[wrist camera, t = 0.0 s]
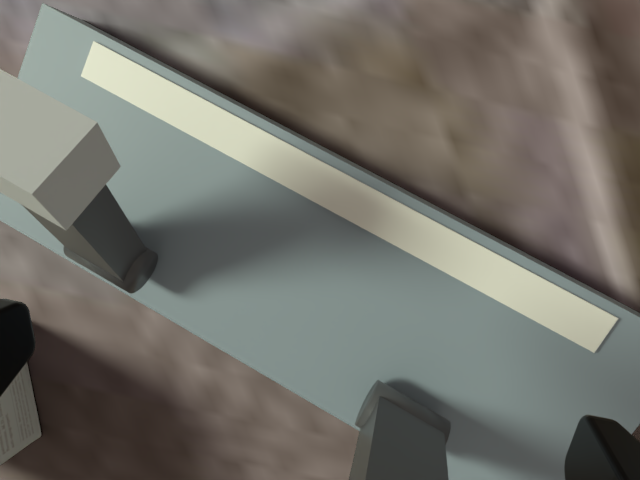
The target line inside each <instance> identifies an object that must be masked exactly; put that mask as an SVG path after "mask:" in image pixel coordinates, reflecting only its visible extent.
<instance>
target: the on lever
mask: <svg viewBox="0 0 640 480" xmlns="http://www.w3.org/2000/svg"><path fill="white" fill-rule="evenodd" d="M120 167H121V166H120V164H119V162H118V160H117V158H116V156H115V155H114V153H113V151H112V149H111V147H110V145H109V143H108V141H107V140H106V138H105V136H104V134H103V132H102V130H101V128H100V126H99V125H98V123H97V122H96V121H94V120H92V119H90V118H88V117H87V116H85V115H83V114H81V113H79V112H78V111H76V110H74V109H72V108H70V107H68V106H67V105H65V104H63V103H61V102H59V101H57V100H56V99H54V98H52V97H50V96H48V95H46V94H45V93H43V92H41V91H39V90H37V89H36V88H34V87H32V86H30V85H28V84H26V83H25V82H23V81H21V80H19V79H17V78H15V77H14V76H12V75H10V74H8V73H6V72H5V71H3V70H1V69H0V193H2V194H4V195H6V196H7V197H9V198H11V199H13V200H14V201H16V202H18V203H19V204H21V205H22V206H23V207H24V208H25V209H26V210H27V211H28V212H29V213H30V214H32V215H33V216H34V217H35V218H36V219H37V220H38V221H39V222H40V223H41V224H42V225H43V226H44V227H45V228H46V229H47V230H48V231H49V232H50V233H51V234H52V235H53V236H54V237H55V238H56V239H57V240H59V241H60V242H61V243H62V244H63V245H64V248H63V250H64V254H65V255H66V256H67V257H69V258H70V259H72V260H74V261H75V262H77V263H79V264H80V265H82V266H84V267H86V268H87V269H89V270H91V271H92V272H94V273H96V274H98V275H99V276H101V277H103V278H104V279H106V280H108V281H110V282H111V283H113V284H115V285H116V286H118V287H120V288H121V289H123V290H125V291H127V292H128V293H135V292H137V291H138V290H139V289H141V288H142V287H143V286H144V285H145V283H146V282H147V281H148V280H149V278H150V277H151V275H152V274H153V272H154V270H155V268H156V265H157V261H158V255H157V253H155V252H154V251H152V250H150V249H148V248H147V247H145V246H144V244H143V243H142V241H141V239H140V238H139V236H138V235H137V233H136V231H135V230H134V228H133V227H132V225H131V223H130V222H129V220H128V219H127V217H126V215H125V214H124V212H123V211H122V209H121V207H120V206H119V204H118V203H117V201H116V200H115V198H114V196H113V195H112V193H111V192H110V190H109V188H108V187H107V185H106V184H107V182H108V181H109V180H110V179H111V178H112V176H113V175H114V174H115V173H116V172H117V171H118V169H119V168H120Z"/></svg>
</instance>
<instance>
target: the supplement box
mask: <svg viewBox="0 0 640 480" xmlns="http://www.w3.org/2000/svg"><path fill="white" fill-rule="evenodd" d="M40 437H41V429H40V423H39V419H38V413H37V408H36V404H35V399H34V394H33V389H32V384H31V380H30V374H29V369H28V365H27V363H26V364H25V365H24V367H23V368H22V369H21V371H20V372H19V373H18V375H17V376H16V377H15V378H14V380H13V381H12V382H11V384H10V385H9V386H8V388H7V389H6V390H5V392H4V393H3V394H2V396H1V397H0V465H1V464H3V463H4V462H6V461H7V460H9V459H10V458H11V457H13V456H14V455H16V454H17V453H18V452H20V451H21V450H22V449H24V448H25V447H26V446H28V445H29V444H31V443H32V442H34V441H35V440H36V439H38V438H40Z"/></svg>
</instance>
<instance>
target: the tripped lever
mask: <svg viewBox="0 0 640 480" xmlns="http://www.w3.org/2000/svg"><path fill="white" fill-rule="evenodd" d="M355 425H356V426H357V427H359V428H360V432H359V436H358V441H357V445H356V450H355V454H354V459H353V463H352V468H351V472H350V477H349V480H449V478H448V467H447V457H446V446H445V445H446V443H447V440H448V437H449V434H450V429H451V423H450V421H449V420H448V419H446V418H444V417H442V416H441V415H439V414H437V413H435V412H434V411H432V410H430V409H428V408H427V407H425V406H423V405H421V404H420V403H418V402H416V401H414V400H413V399H411V398H409V397H407V396H406V395H404V394H402V393H400V392H399V391H397V390H395V389H393V388H392V387H390V386H388V385H386V384H385V383H383V382H381V381H379V380H377V381H376V382H375V383H374V385H373V386H372V388H371V389H370V391H369V393H368V395H367V396H366V398H365V400H364V402H363V404H362V406H361V408H360V411H359V413H358V416H357V418H356V422H355Z"/></svg>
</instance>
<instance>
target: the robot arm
mask: <svg viewBox="0 0 640 480" xmlns="http://www.w3.org/2000/svg"><path fill="white" fill-rule="evenodd" d="M34 348H35V338H34V333H33V328H32V323H31V318H30V313H29V309H28V307H27V306H26V305H25V304H24V303H22V302H18V301H13V300H8V299H0V397H1V396H2V394H3V393H4V392H5V390H6V389H7V388H8V386H9V385H10V384H11V382H12V381H13V380H14V378H15V377H16V376H17V375H18V373H19V372H20V371H21V369H22V368H23V367H24V365H25V364H26V363H27V361H28V360H29V359H30V357H31V356H32V354H33V352H34ZM564 473H565V480H640V442H639V441H638V440H637V439H636V438H635V437H634V436H633V435H632V434H630V433H629V432H628V431H627V430H626V429H625V428H624V427H623V426H622V425H621V424H619V423H618V422H617V421H615V420H613V419H609V418H603V417H598V416H593V415H584V416H582V418H581V419H580V420H579V422H578V425H577V427H576V430H575V433H574V435H573V438H572V441H571V443H570V446H569V449H568V452H567V454H566V458H565V465H564Z"/></svg>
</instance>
